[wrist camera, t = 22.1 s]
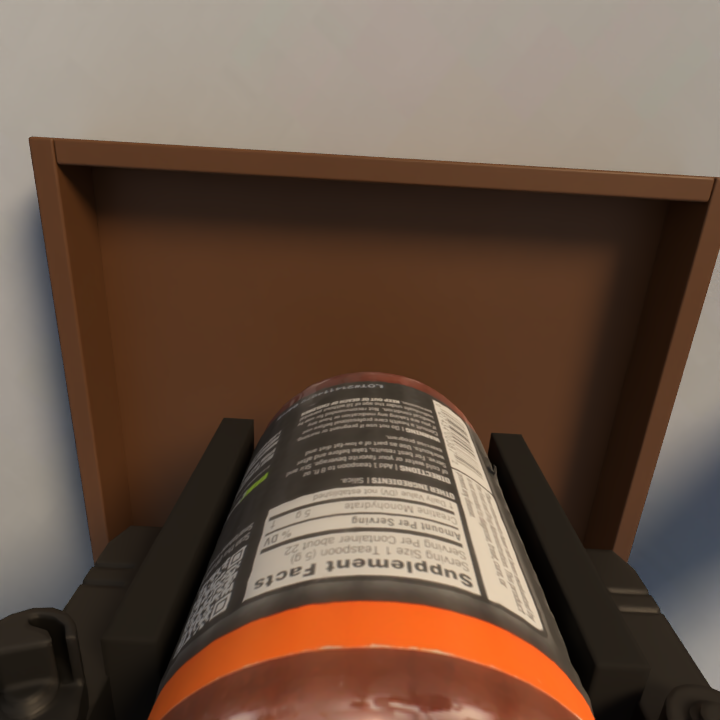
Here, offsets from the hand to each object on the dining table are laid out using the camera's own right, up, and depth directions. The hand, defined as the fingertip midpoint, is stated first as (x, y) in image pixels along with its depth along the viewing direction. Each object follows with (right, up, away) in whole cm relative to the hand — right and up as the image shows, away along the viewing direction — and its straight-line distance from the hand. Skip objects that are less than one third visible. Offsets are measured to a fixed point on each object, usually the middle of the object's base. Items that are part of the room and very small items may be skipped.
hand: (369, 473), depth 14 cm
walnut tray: (0, +2, +4) cm, 4 cm away
